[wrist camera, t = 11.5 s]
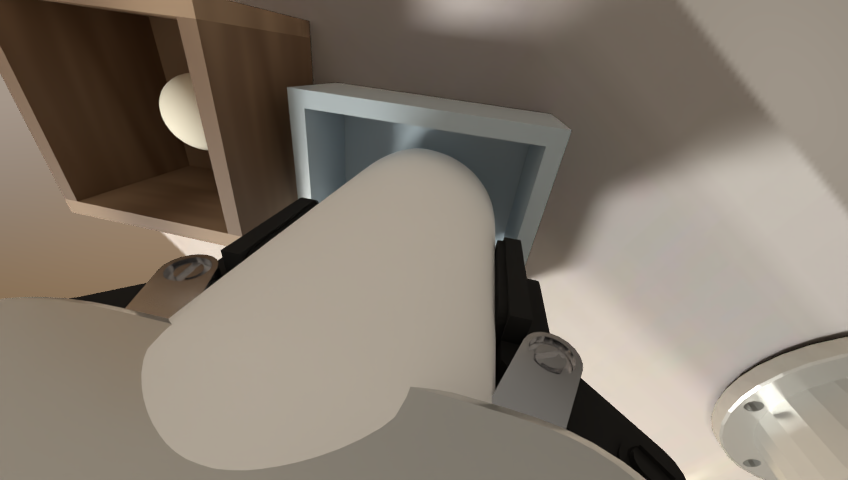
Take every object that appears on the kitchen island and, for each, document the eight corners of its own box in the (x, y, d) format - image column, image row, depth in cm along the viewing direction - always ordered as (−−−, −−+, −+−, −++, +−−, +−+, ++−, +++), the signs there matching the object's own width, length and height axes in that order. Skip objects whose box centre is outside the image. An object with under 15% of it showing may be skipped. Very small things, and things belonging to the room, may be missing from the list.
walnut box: (309, 21, 13) (189, -10, 8) (319, 195, 17) (245, 249, 12) (145, 0, 14) (-57, -39, 9) (192, 171, 18) (71, 212, 13)
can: (483, 130, 12) (396, 605, 1) (503, 272, 14) (524, 776, 4) (334, 161, 13) (-190, 460, 3) (377, 281, 16) (174, 649, 6)
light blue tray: (551, 114, 13) (571, 130, 10) (497, 289, 18) (498, 342, 14) (337, 82, 14) (286, 87, 11) (341, 256, 19) (307, 298, 15)
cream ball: (257, 76, 14) (199, 79, 11) (267, 147, 16) (219, 164, 13) (195, 67, 14) (125, 67, 12) (211, 137, 16) (152, 151, 13)
